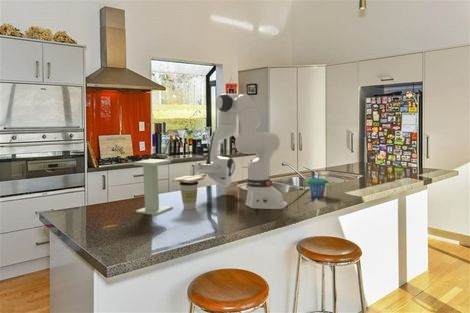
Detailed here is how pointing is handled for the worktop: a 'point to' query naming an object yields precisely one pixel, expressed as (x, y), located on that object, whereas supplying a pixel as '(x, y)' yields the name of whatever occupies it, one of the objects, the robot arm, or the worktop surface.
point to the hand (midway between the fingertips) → (205, 163)
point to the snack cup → (317, 186)
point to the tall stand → (152, 186)
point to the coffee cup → (189, 194)
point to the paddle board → (190, 178)
